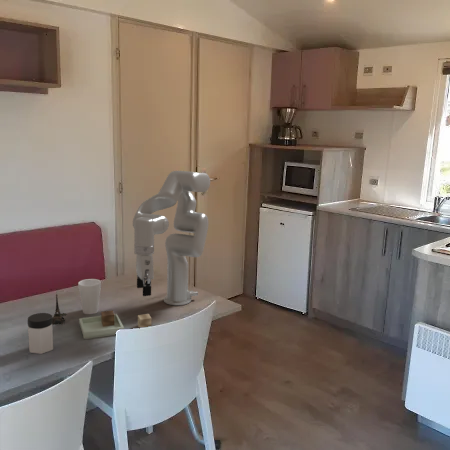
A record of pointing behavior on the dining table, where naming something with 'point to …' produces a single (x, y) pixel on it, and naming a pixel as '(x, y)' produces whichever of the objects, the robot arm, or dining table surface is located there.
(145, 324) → the maple block
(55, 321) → the eiffel tower figurine
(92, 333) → the tray
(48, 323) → the jar
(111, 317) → the walnut block
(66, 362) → the dining table surface
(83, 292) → the foam cup
